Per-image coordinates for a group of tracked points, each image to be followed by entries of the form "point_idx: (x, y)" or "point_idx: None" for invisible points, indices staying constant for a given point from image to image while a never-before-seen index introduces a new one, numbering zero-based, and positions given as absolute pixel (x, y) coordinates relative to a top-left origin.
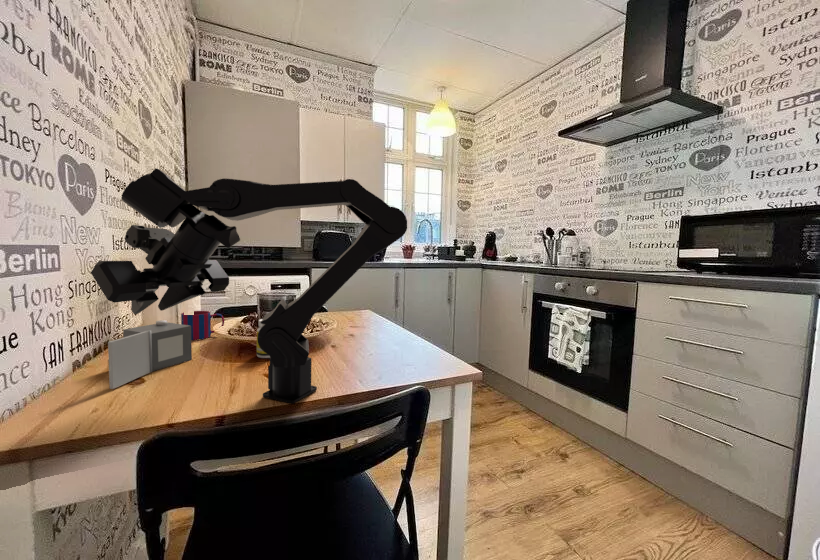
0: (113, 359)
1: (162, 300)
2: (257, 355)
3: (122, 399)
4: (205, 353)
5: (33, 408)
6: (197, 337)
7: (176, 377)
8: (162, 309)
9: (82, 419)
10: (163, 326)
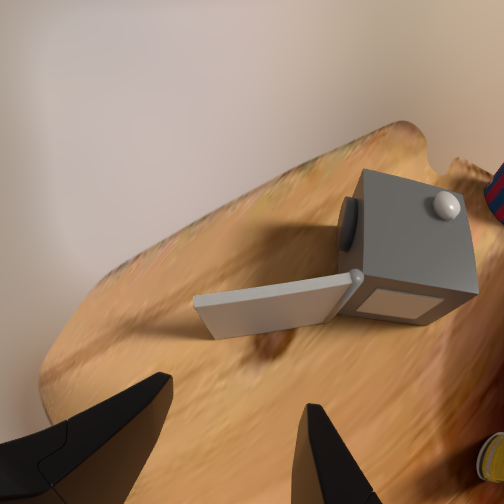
0: (208, 321)
1: (307, 448)
2: (481, 450)
3: (181, 399)
4: (465, 313)
5: (127, 281)
6: (501, 217)
7: (321, 403)
8: (297, 440)
9: (102, 400)
10: (437, 229)
